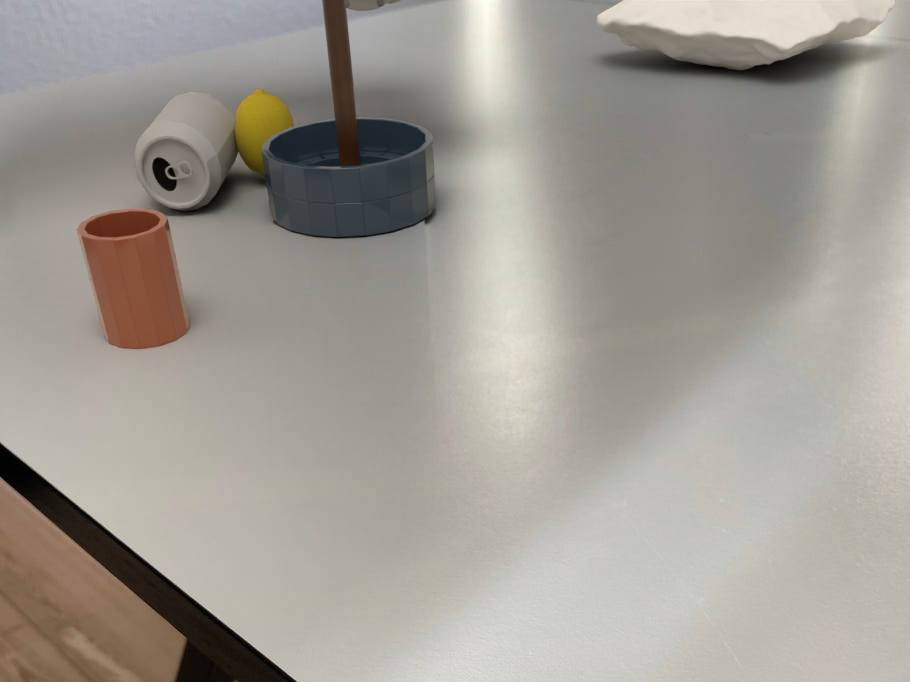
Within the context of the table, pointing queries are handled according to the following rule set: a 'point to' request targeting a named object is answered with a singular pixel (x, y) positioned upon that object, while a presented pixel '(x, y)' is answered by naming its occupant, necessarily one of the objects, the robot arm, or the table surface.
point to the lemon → (259, 126)
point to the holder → (134, 277)
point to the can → (187, 151)
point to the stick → (342, 81)
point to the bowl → (350, 178)
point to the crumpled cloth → (740, 27)
